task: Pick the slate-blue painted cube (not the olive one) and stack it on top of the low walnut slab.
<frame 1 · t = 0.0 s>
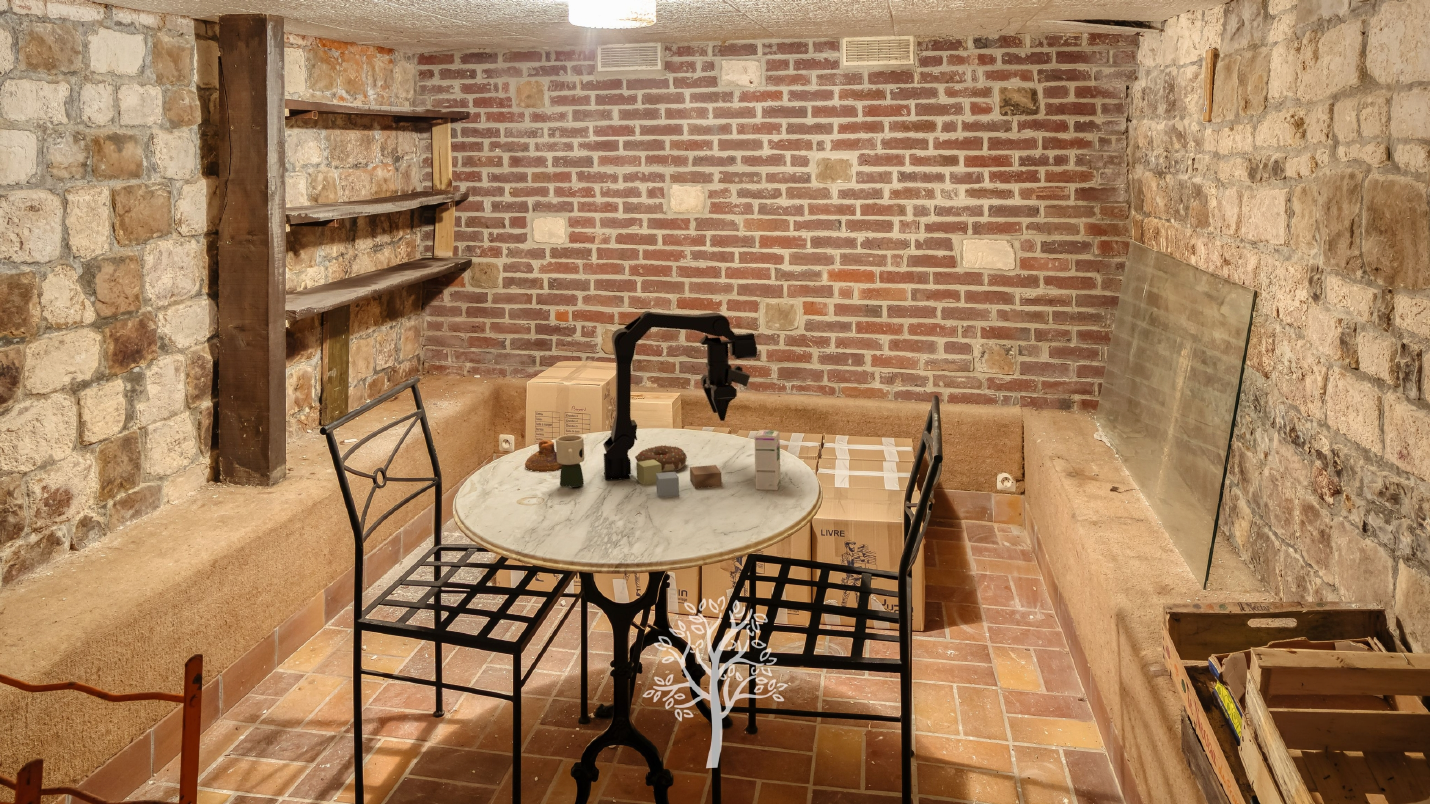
hand: (718, 416, 273), 15 cm above the table, fingers open, 9 cm apart
character mug: (572, 486, 264), on the table
syrup box: (767, 487, 260), on the table
donut: (661, 468, 279), on the table
olive cube: (649, 481, 267), on the table
slate cube: (667, 494, 256), on the table
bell: (546, 467, 282), on the table
walnut slab: (705, 484, 264), on the table
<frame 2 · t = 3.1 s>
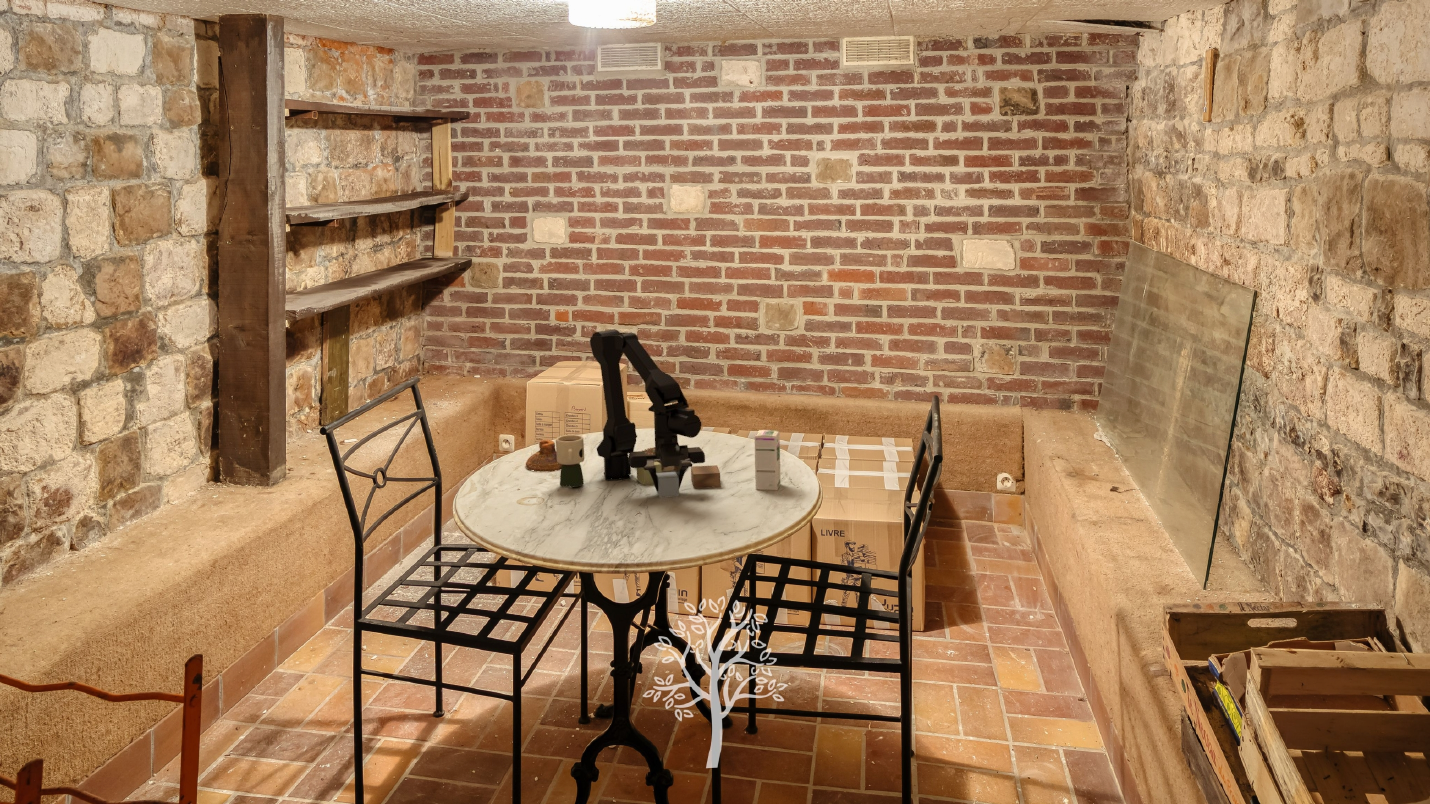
hand: (667, 489, 256), 1 cm above the table, fingers closed on slate cube, 5 cm apart
slate cube: (667, 494, 256), on the table, touching gripper
everything else where it was.
when the fingers open (6 cm above the table, at t = 6.8 s): slate cube drops 1 cm, point 4 cm above the table.
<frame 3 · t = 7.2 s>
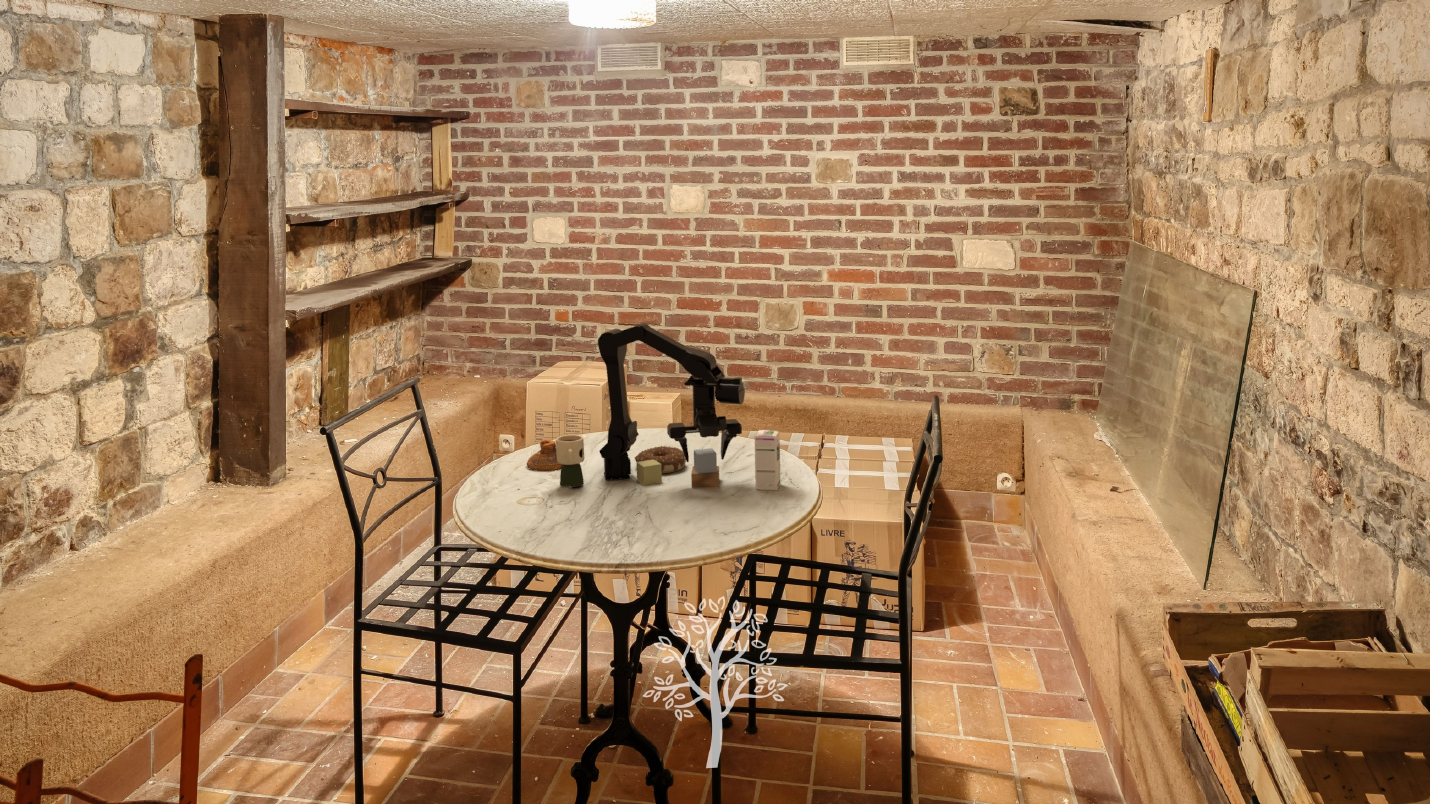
hand: (705, 460, 263), 6 cm above the table, fingers open, 9 cm apart
slate cube: (705, 469, 263), point 4 cm above the table
everything else where it was.
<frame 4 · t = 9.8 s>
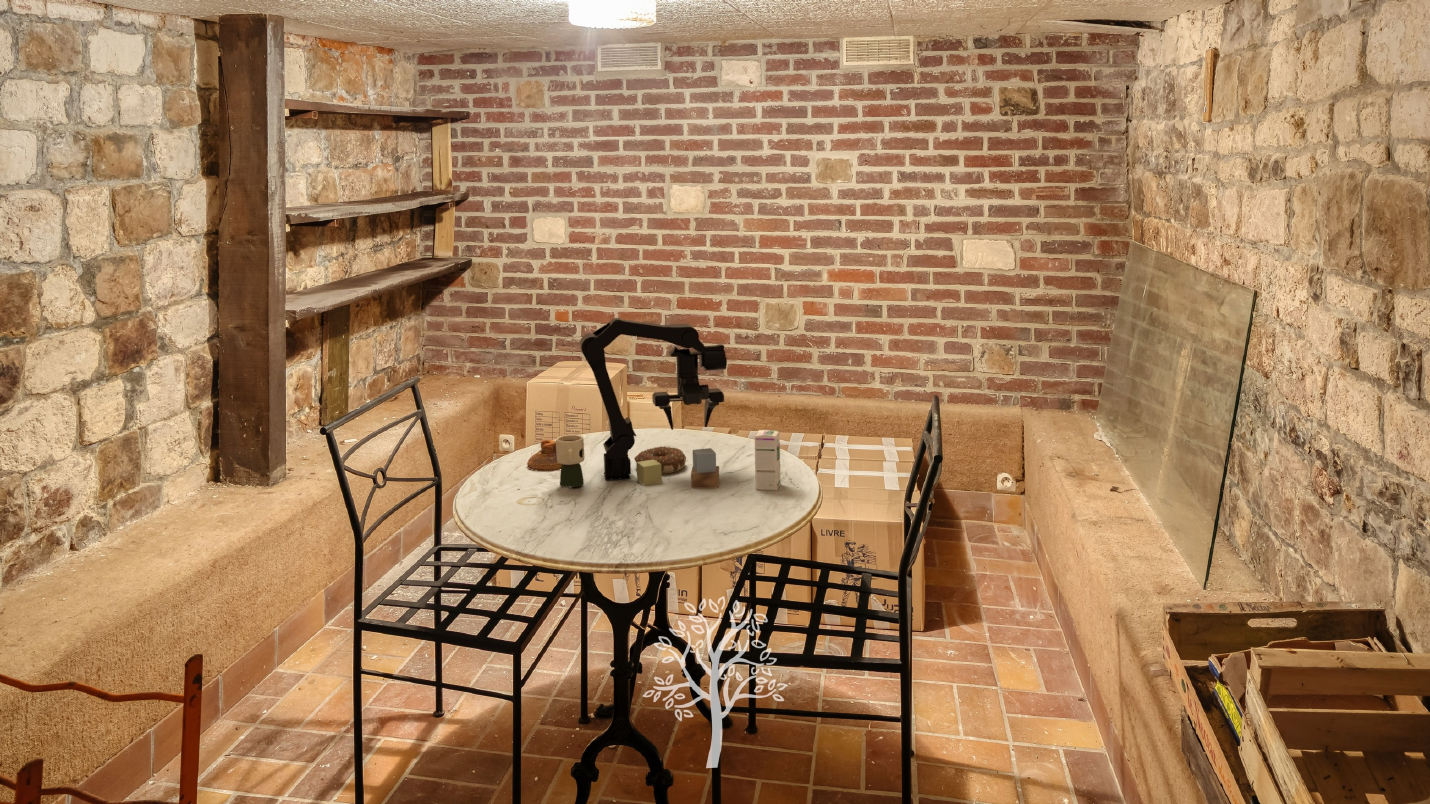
hand: (688, 428, 272), 12 cm above the table, fingers open, 9 cm apart
slate cube: (704, 469, 263), point 4 cm above the table, touching walnut slab
walnut slab: (705, 484, 264), on the table, touching slate cube
at the end: slate cube 0.2 cm off-centre on the walnut slab, point 4.0 cm above the walnut slab's base; slate cube tilted 0°; the gripper is holding nothing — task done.
